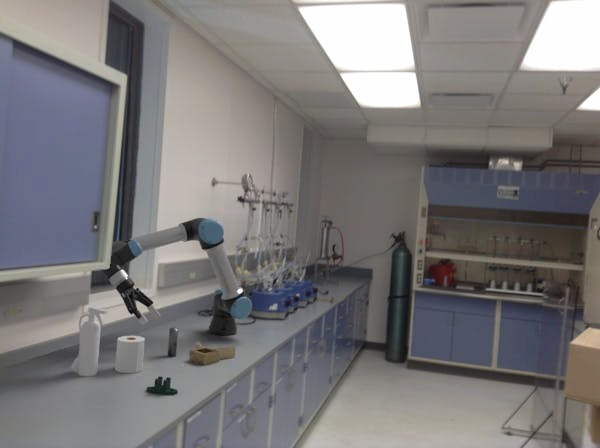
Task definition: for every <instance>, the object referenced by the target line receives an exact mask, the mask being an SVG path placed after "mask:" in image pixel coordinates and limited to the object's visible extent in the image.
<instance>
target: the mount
mask: <svg viewBox="0 0 600 448" xmlns="http://www.w3.org/2000/svg"><path fill="white" fill-rule="evenodd" d="M171 382H172V378H171V377H168V376H167V377H166V378H165V379H164V380H163V376H160V375H158V377H157V378H155V379H154V386H147V387H146V392H147V393H150V394H155V395H161V396H162V395H163V396H176V395H178V393H179V392H178V391H179V390H178V389H176V388H173V387H171ZM175 394H176V395H175Z"/></svg>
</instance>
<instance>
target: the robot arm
mask: <svg viewBox="0 0 600 448" xmlns="http://www.w3.org/2000/svg"><path fill="white" fill-rule="evenodd" d="M224 235H225V229H224V227H223V225H222V224H221V222H219V221H218V220H215V218H214V219H213V218H204V217H196V218H193V219H190V220H187V221H184V222H181V223H179V224H177V226H173V227H170V228H166V229H162V230H157V231H154V232H151V233H147V234H142V235H139V236H135V237H132V238H128V239H124V240H117V241H116V240H115V241H113V242H112V243H113V247H112V256H111V264H110V268H109V269H107V270H101V272H102V273H103V274H104V276H105V277H106V278H107V280H108V281H109V282H110V284H111V285H112V286H113V287H114V288H115V290H116V291H117V293H119V295H120V297H121V299H122V301H123V302H124V305H125V308H126V310H127V311H128V313H129V314H130V315H134V316H135V317H136V318H137V320H138V321H139V323H140V324H141V325H142V326H145V325H146V324H147V323H148V322H149V320H148V319H147V318H146V317H145V315H144V314H143V313H142V312H141V310H140V309H138V306H137V303H136V302H137V301H138V302H139V303H140V304H141V305H143V306H144V307H146V309H147V310H148V312H149V313H150V314H151V316H152V317H153V318H154V319H155V320H158V319H159V318H160V317H161V316H162V315H161V314H160V312H159V311H158V309H156V307H155V306H154V305H153V304H154V301H153V300H152V299H151V298H150V297H148V295H147V294H145V293H144V292H142V291H141V289H140V288H139V287H136V288H135V287H134V286H135V285H136V284H135V282H134V281H133V279H132V278H130V276H129V274H128V273H127V272H126V270H125V269H124V268H123V267H124V266H126V265H127V264H129V263H130V262H132V261H134V260H135V259H136V258H138V257H139V256H140V255H142V254H143V253H144V252H147V251H149V250H154V249H156V248H161V247H165V246H168V245H172V244H175V243H179V242H183V243H186V242H190V241H191V242H192V241H197V242H199V245H200V247H201V249H202V251H205V252H206V254H207V257H208V259H209V262H210V264H211V266H212V269H213V272H214V274H215V277H216V278H217V281H218V284H219V287H220V288H217V289H215V290H214V296H213V308H212V309H213V310H212V318H211V320H210V323H209V326H208V327H207V331H208V333H209V334H212V335H217V336H219V335H220V336H232V335H233V336H234V335H236V334H237V333H238V326H237V323H236V320H244V319H246V318H247V317H249V315H250V314H251V312H252V308H253V303H252V300H251V299H250V298H249V297H247V296H246V294H245V291H244V288H243V287H241V286H239V284H238V281H237V278H236V276H235V274H234V273H235V272H234V270H233V268H232V266H231V263H230V261H229V258H228V256H227V253H226V249H225V247H224V243H225V239H224Z"/></svg>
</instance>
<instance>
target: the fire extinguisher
mask: <svg viewBox="0 0 600 448" xmlns="http://www.w3.org/2000/svg"><path fill="white" fill-rule="evenodd" d="M107 314H109V310H106V309H103V308H100V307H96V306H89V307H88V310H87V313H84V314H82V315H80V317H79V320H78V327H79V328H78V329H79V343H78V344H79V348H78V351H79V352H78V355H77V357H75V359H74V361H73V362H72V363H71V366H70V368H71V369H72V370H74V371H78V375H79V376H81V377H92V376H96V375H97V374H98V368H99V367H98V365H99V357H100V356H99V354H100V353H99V352H100V343H101V342H100V341H101V327H103V326H105V325H106V322H105V318H104V317H103V315H107ZM85 317H88V319H87V321H84V322H83V321H82V320H83V318H85ZM96 318H97V320H98V321H97V320H96ZM82 322H83V324H82Z"/></svg>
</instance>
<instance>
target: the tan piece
mask: <svg viewBox="0 0 600 448" xmlns="http://www.w3.org/2000/svg"><path fill="white" fill-rule="evenodd" d="M235 357H236V346H228V347H227V346H226V347H219V348H211V347H207V346H203V345H202V343H201V342H200V341H196V342H195V348H194V349H193V348H192V349H190V350H189V361H190V362H192V363H196V364H197V365H202V366H207V365H211V364H215V363H216V364H217V363H219V362H220V360H224V359H232V358H235Z"/></svg>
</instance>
